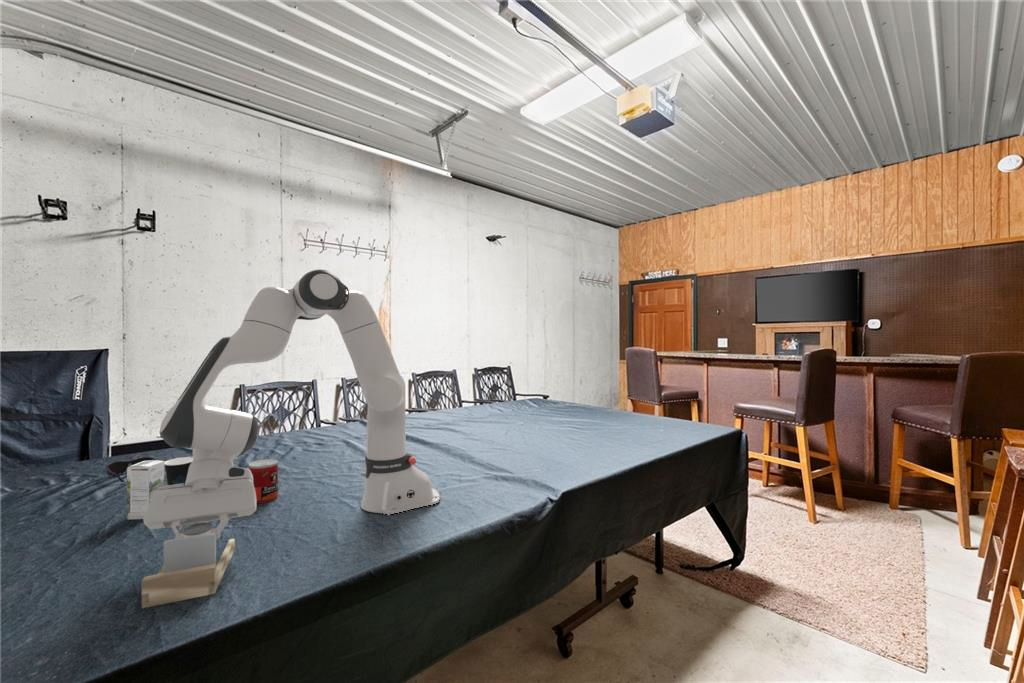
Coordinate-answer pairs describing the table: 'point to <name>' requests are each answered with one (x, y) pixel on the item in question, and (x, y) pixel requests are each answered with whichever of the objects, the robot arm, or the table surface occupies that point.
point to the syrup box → (142, 486)
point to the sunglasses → (123, 466)
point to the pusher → (189, 552)
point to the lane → (185, 581)
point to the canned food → (265, 479)
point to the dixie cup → (177, 470)
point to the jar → (197, 529)
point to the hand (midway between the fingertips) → (197, 541)
